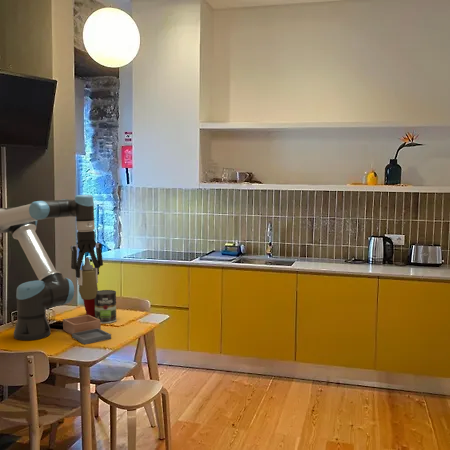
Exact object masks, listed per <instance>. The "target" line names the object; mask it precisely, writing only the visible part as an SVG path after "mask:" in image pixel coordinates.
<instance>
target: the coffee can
mask: <svg viewBox="0 0 450 450" xmlns="http://www.w3.org/2000/svg"><path fill="white" fill-rule="evenodd" d="M95 318H97V319H99V320H100V322H101V325H102V324H103V325H104V324H112V323H114V322H117V291H116V290H113V289H103V290H98V291H97V294H96V298H95Z"/></svg>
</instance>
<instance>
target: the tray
mask: <svg viewBox="0 0 450 450" xmlns="http://www.w3.org/2000/svg"><path fill="white" fill-rule="evenodd" d="M71 335H72V336H71V338H72V339H73V338H74V340H75V339H76V341H77V340H78V341H77V342H79V343H81V344H83V345H88V344H93V343H98V342H102V341H107V340H111V339H112V334H111V333H110V332H107V331H105V330H103V329H102V328H101V329H99V328H97V329H92V330H87V331H82V332H76V333H72V334H71Z"/></svg>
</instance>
